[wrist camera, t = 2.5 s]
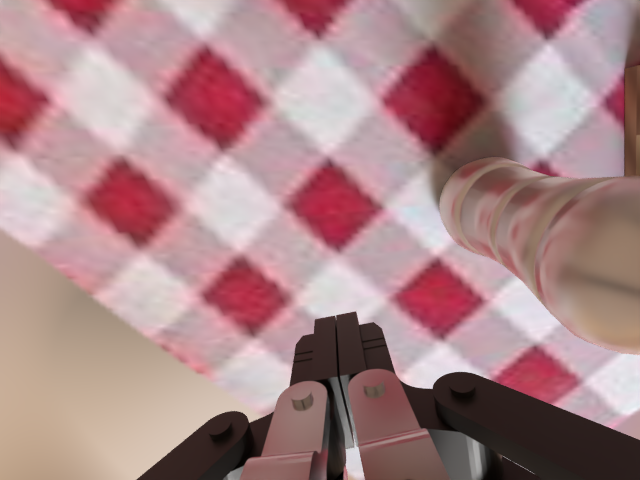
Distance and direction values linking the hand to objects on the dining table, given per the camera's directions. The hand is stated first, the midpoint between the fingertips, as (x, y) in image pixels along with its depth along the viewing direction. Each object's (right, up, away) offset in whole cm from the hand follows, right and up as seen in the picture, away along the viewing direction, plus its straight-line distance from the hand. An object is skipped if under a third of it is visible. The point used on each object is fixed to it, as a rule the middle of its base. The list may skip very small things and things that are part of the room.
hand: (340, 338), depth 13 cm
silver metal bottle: (+11, +7, +15) cm, 19 cm away
